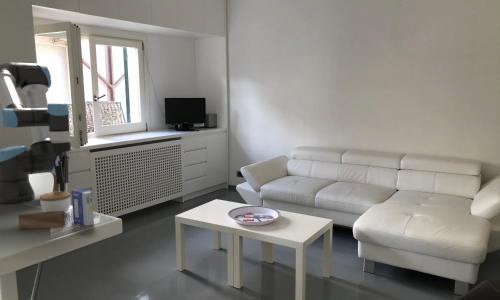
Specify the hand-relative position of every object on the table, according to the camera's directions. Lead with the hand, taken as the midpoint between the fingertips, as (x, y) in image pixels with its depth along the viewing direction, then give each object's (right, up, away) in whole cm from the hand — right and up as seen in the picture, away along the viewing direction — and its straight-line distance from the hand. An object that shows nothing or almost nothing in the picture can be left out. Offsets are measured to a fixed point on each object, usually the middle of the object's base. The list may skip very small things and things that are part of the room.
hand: (63, 198), depth 164 cm
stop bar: (+4, -7, -25) cm, 26 cm away
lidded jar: (+2, -5, -9) cm, 11 cm away
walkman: (+16, -6, -20) cm, 27 cm away
